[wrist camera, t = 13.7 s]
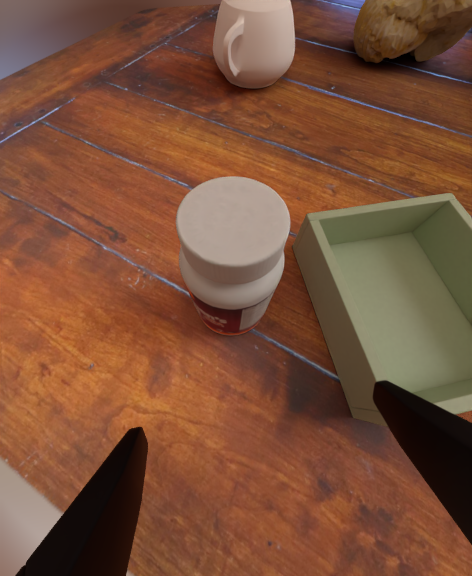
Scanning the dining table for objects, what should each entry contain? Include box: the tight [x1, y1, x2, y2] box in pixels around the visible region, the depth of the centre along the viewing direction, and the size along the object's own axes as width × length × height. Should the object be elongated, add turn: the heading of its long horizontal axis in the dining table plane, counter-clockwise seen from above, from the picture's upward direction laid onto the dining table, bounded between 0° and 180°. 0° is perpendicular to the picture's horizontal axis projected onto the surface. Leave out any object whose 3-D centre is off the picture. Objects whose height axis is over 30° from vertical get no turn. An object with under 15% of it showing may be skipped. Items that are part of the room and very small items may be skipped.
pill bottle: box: [176, 177, 290, 336], centre depth 15 cm, size 6×6×11 cm
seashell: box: [353, 0, 472, 63], centre depth 35 cm, size 17×11×15 cm
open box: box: [292, 193, 472, 427], centre depth 18 cm, size 16×14×5 cm
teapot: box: [213, 0, 295, 88], centre depth 32 cm, size 20×12×10 cm, turn 154°
